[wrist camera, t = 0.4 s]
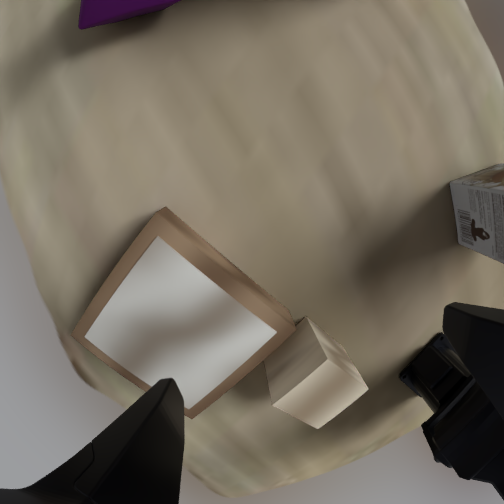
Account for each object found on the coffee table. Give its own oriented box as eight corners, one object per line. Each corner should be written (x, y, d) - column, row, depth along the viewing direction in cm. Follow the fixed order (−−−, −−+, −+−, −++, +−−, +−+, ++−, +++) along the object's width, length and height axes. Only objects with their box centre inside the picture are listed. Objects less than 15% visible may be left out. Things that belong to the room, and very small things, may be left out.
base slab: (288, 310, 23) (297, 330, 20) (194, 396, 24) (191, 420, 21) (165, 206, 20) (155, 212, 17) (85, 317, 22) (69, 336, 19)
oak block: (342, 346, 24) (368, 389, 18) (302, 382, 25) (317, 429, 19) (305, 315, 23) (327, 358, 17) (262, 356, 24) (272, 405, 18)
